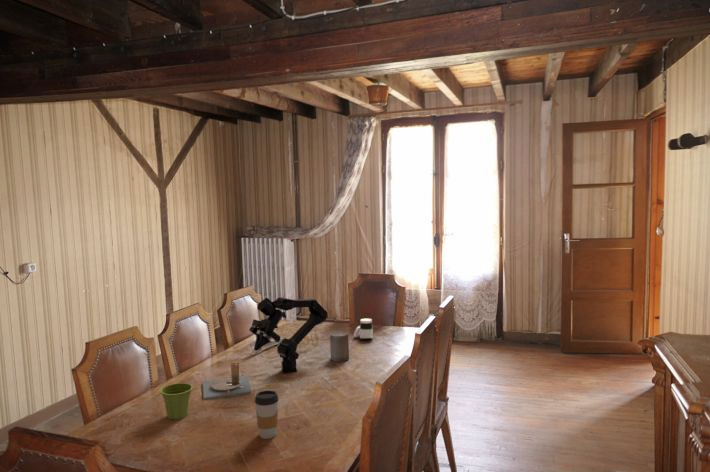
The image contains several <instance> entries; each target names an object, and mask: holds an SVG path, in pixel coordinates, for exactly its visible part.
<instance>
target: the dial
mask: <svg viewBox="0 0 710 472" xmlns="http://www.w3.org/2000/svg"><path fill="white" fill-rule="evenodd" d="M230 376H231V377H230ZM230 376H229V377H223V378H218V380H216V379H214V380H215V381H214V382H212V384H211V388H212V389H213V390H215V391H228V390H233V389H236V388H238V387H239V386H241V380H240V379H239V376H240V364H239V363H238V362H233V363H231V364H230Z"/></svg>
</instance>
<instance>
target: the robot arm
mask: <svg viewBox="0 0 710 472" xmlns="http://www.w3.org/2000/svg"><path fill="white" fill-rule="evenodd" d="M295 308H297V309H298V308H308V311H309V313H310V314H309V316H308V319H307V320H306V321H305V323H303V324H302V325H301V326H300V328H299V329H297V330H296V332H295V333H294V334H293V335H292V336H291V337H290V338H285V337H283V338H284V339H283V340H282V342H280V343H279V341H280V338H281V335H279V334H277V333H276V332H275V330H276V329H279V326H278V324H279V323H280V321H281V319H283V318H284V319H286V318H287V315H286V311H290V310H291V311H292V310H293V309H295ZM257 310H258V311H259V312H260V313H262V314H263V315H264V316H266V317H267V318H266V319H262V318H261V320H259V319H252V324H251V326H250V327H249V329H248V331H249V332H250V333H252V334H253V335H254V336H255V340H256V342H255V346H253V350H255V351H257V350H258V349H259V348H261V347H262V346H264V345H265V344H267V343H269V342H271V340H274V341H275V342H278V343H279V344H278V346H277V349H276V351H277V354H278V355H279V357H280V358H281V359H282V360H281V361H280V365H281V367H280V368H281V371H282V372H283V373H284V374H289V373H294V372H298V369H297V360H298V359H299V356H300V355H299V353H298V352H297V349H298V346H299V344H300V343H301V342H302V341H303V340H305V338H306V337H307V336H308V335H309V334H310V332H311V331H312V330H313V329H314V328H315V327H316V326H318V325H321V324H322V323H324V322H325V321H326V320H327V319H328V312H327V310H326V309H325V308H324V307H323V306H322V305H321V304H320V303H319V302H318V300H316V299H313V298H307V299H304V298H303V299H296V298H295V299H291V298H286V297H277V298H276V299H275V300H273V301H272V300H271V299H270V298H268V297H265V298H264V299H262V300H261V301H260V302H259V303H258V304H257Z"/></svg>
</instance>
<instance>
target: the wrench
mask: <svg viewBox="0 0 710 472" xmlns="http://www.w3.org/2000/svg"><path fill="white" fill-rule="evenodd" d="M284 338H285V337H280V341H279V343H280V342H282V340H283V339H284ZM270 341H271V342H269V343H267V344H265V345H264V346H262V347H261V348H259V349H258V350H257V351H255V350H254V349H253V350H251V354H255V355H259V354H260V353H261V351H262V350H264V349H266V348H268V347H272V346H276V345H279V343H278V342H275V341H274V339H270ZM255 342H256V339H254V340H252V341H251V342H250V344H249V348H254V347H255Z"/></svg>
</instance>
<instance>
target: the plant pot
mask: <svg viewBox="0 0 710 472" xmlns="http://www.w3.org/2000/svg"><path fill="white" fill-rule="evenodd" d="M193 388H194V387H193V385H192V384H191V383H187V382H175V383H170V384H168V385H165V386H163V387H161V389H160V393H161V394H162V398H163V400H164V404H165V410H166V414H167V418H168V419H170V420H181V419H184V418H185V417H186V416H188V411H189V403H190V395H191V392H192V389H193Z"/></svg>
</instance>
